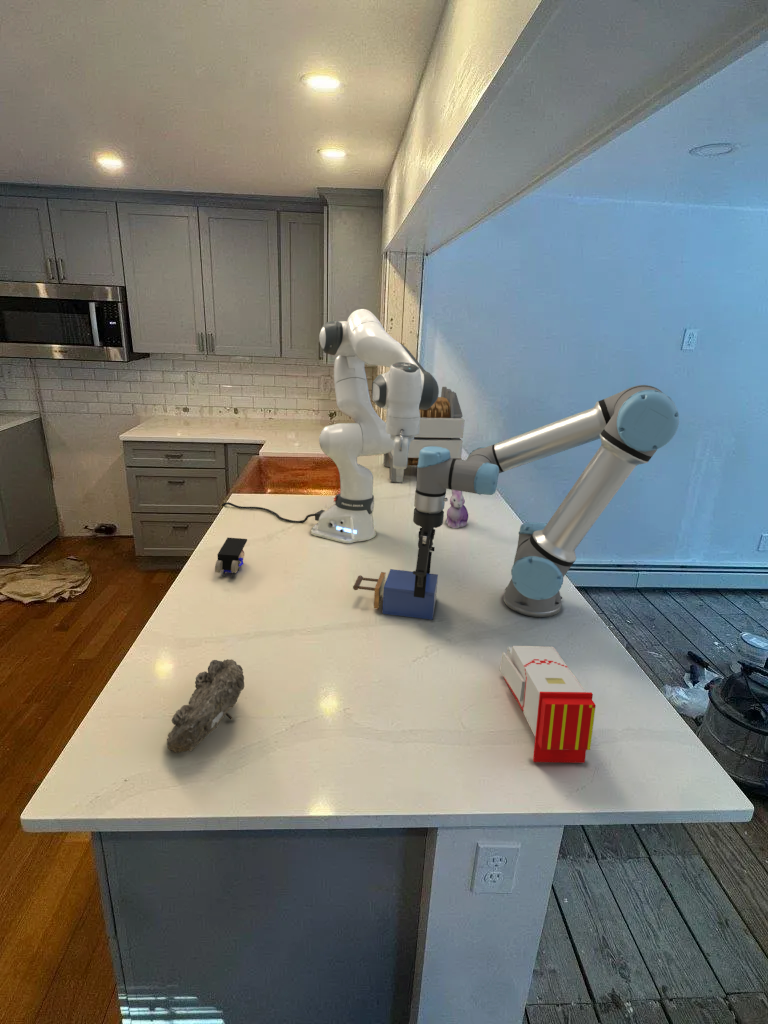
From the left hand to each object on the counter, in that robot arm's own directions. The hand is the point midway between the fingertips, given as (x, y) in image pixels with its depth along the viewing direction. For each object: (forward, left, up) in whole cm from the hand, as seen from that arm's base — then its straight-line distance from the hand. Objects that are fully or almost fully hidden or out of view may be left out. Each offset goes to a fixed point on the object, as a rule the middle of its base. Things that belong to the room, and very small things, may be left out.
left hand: (400, 476), depth 155 cm
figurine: (+10, +53, -32) cm, 63 cm away
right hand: (+11, -13, -25) cm, 30 cm away
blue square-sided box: (+8, -13, -32) cm, 35 cm away
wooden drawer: (+2, -14, -31) cm, 34 cm away
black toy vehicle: (-47, -10, -32) cm, 58 cm away
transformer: (-18, +116, -32) cm, 121 cm away
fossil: (-18, -68, -32) cm, 77 cm away
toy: (+42, -46, -32) cm, 70 cm away
